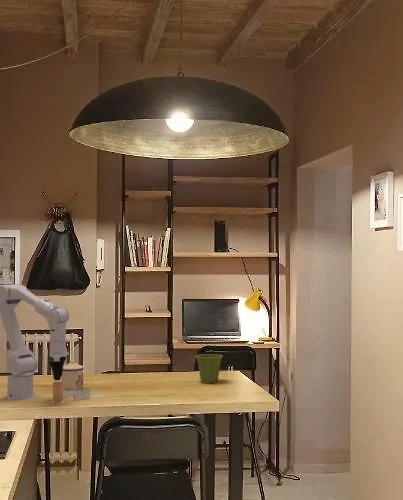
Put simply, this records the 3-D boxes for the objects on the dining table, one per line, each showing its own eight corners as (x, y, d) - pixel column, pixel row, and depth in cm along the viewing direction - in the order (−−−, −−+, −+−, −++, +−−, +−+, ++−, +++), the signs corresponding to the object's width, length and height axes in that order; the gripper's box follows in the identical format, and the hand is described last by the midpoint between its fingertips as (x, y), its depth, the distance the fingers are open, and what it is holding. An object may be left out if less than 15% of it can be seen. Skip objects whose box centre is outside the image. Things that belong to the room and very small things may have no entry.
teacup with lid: (80, 391, 258) (80, 362, 258) (58, 391, 259) (58, 362, 259) (88, 386, 270) (88, 358, 270) (66, 385, 271) (66, 357, 271)
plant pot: (223, 379, 283) (223, 353, 283) (221, 384, 271) (221, 358, 271) (196, 379, 284) (196, 353, 284) (193, 384, 272) (193, 357, 272)
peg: (52, 402, 235) (52, 383, 235) (53, 400, 239) (53, 381, 239) (62, 402, 236) (62, 383, 236) (63, 400, 239) (63, 381, 240)
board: (50, 405, 234) (50, 403, 234) (53, 396, 249) (53, 395, 249) (105, 402, 237) (105, 401, 237) (105, 394, 252) (105, 393, 252)
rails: (57, 402, 237) (57, 396, 237) (59, 395, 249) (59, 390, 249) (89, 400, 239) (89, 395, 239) (90, 394, 251) (90, 389, 251)
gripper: (67, 343, 231) (68, 381, 231) (69, 338, 246) (70, 374, 245) (47, 343, 230) (47, 382, 230) (50, 339, 244) (51, 375, 244)
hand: (58, 378), depth 238 cm, fingers open, 7 cm apart
